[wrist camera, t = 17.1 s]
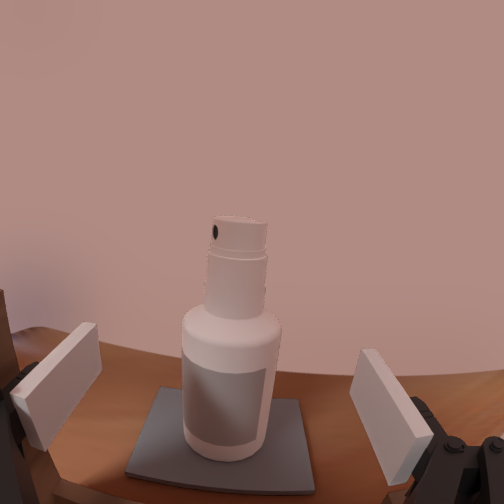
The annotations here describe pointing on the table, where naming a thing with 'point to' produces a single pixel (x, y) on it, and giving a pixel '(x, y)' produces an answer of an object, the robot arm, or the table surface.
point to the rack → (40, 463)
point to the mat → (218, 472)
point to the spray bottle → (230, 346)
